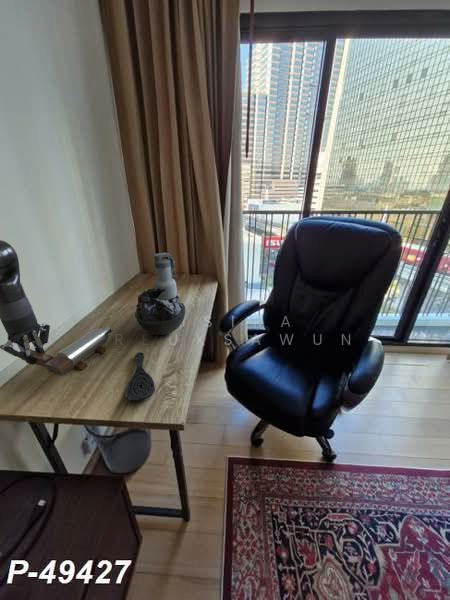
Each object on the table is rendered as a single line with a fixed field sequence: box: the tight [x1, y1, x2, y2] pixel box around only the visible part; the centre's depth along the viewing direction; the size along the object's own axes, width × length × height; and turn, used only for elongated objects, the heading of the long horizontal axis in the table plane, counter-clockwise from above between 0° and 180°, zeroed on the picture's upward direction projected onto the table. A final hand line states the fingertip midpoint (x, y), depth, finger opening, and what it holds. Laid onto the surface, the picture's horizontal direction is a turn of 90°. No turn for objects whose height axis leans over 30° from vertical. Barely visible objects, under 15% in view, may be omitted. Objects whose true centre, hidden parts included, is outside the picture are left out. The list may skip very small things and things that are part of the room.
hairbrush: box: [125, 351, 156, 403], centre depth 81 cm, size 8×4×25 cm
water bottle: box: [153, 252, 178, 300], centre depth 117 cm, size 10×10×28 cm
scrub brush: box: [20, 348, 75, 377], centre depth 77 cm, size 19×4×3 cm, turn 69°
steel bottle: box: [56, 326, 113, 371], centre depth 92 cm, size 20×8×8 cm, turn 159°
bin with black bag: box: [134, 287, 186, 336], centre depth 102 cm, size 20×20×19 cm
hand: (37, 360), depth 79 cm, fingers closed on scrub brush, 2 cm apart
